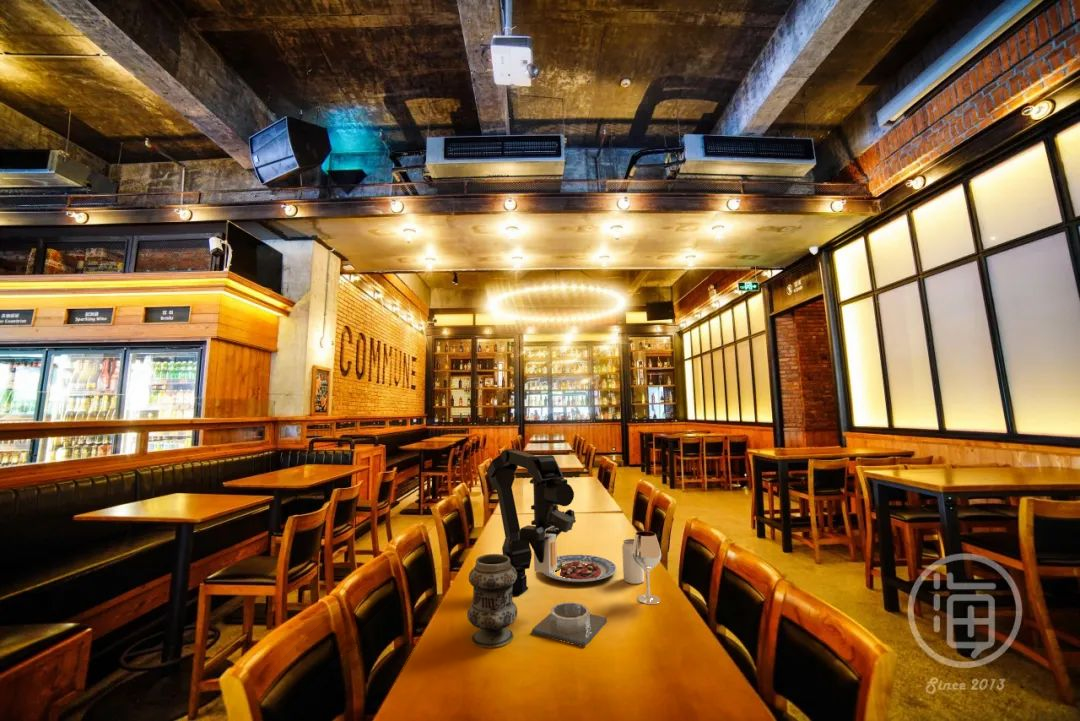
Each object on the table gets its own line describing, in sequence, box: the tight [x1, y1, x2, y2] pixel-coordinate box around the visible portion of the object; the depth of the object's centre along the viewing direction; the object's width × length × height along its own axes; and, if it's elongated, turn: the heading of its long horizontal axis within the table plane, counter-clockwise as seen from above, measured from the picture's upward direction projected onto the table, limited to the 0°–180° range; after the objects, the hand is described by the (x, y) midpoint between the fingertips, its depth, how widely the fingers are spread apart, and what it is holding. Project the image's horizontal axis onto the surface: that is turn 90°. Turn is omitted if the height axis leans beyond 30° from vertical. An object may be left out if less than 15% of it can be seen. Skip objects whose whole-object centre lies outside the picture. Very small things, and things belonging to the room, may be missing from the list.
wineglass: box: [632, 530, 662, 605], centre depth 123 cm, size 8×8×18 cm
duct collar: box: [531, 601, 608, 648], centre depth 107 cm, size 14×14×4 cm
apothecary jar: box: [466, 553, 518, 649], centre depth 104 cm, size 12×12×18 cm
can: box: [621, 538, 645, 585], centre depth 137 cm, size 6×6×12 cm
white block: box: [533, 533, 558, 574], centre depth 118 cm, size 5×5×9 cm
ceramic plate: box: [541, 554, 617, 583], centre depth 145 cm, size 26×26×3 cm
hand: (545, 559), depth 118 cm, fingers closed on white block, 5 cm apart
